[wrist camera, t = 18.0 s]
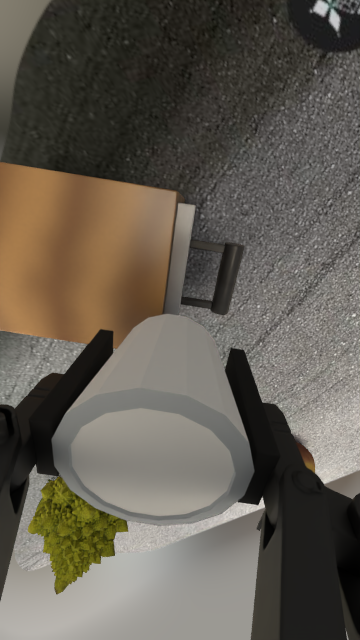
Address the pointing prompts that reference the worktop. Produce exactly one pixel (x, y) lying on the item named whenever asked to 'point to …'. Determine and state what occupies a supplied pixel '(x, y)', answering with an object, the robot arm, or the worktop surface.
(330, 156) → the worktop surface
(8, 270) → the cabinet
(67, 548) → the vegetable
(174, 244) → the drawer
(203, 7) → the worktop surface
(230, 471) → the white cup
